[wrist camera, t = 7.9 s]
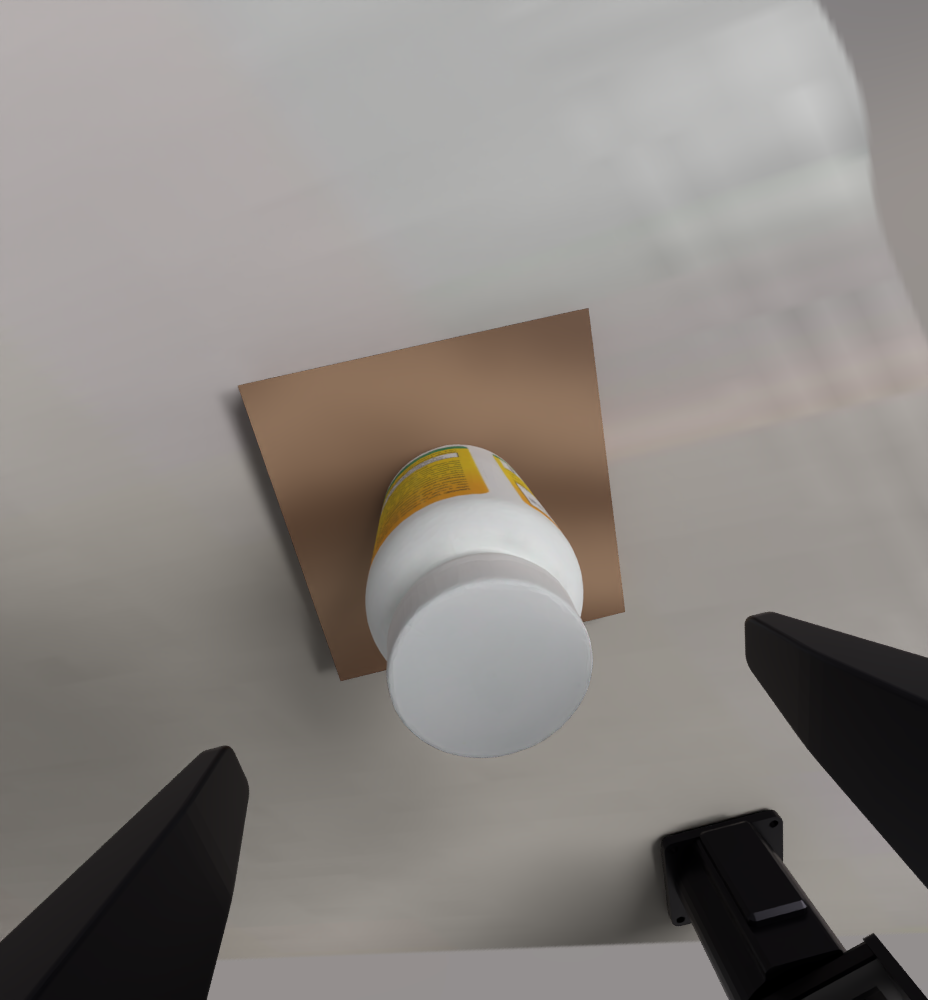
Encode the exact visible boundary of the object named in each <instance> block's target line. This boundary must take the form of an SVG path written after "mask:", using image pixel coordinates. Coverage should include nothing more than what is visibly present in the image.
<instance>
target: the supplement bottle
mask: <svg viewBox="0 0 928 1000" xmlns="http://www.w3.org/2000/svg"><path fill="white" fill-rule="evenodd" d="M365 605H366V614H367V621H368V625H369V628H370V631H371V634H372V637H373V639H374V641H375V643H376V645H377V647H378V649H379V651H380V652H381V654H382V655H383V657H384V658H385V659H386V661H387V671H386V676H387V683H388V689H389V694H390V697H391V700H392V703H393V706H394V708H395V711H396V712H397V714H398V716H399V717H400V719H401V720H402V722H403V723H404V724H405V725H406V726H407V728H408V729H409V730H410V731H411V732H412V733H414V734H415V735H416V736H417V737H418V738H420V739H421V740H422V741H424V742H425V743H427V744H429V745H431V746H433V747H434V748H436V749H439V750H441V751H444V752H446V753H450V754H453V755H458V756H464V757H473V758H489V757H499V756H504V755H509V754H512V753H515V752H518V751H521V750H524V749H527V748H530V747H532V746H534V745H536V744H538V743H540V742H542V741H544V740H545V739H547V738H548V737H549V736H551V735H552V734H553V733H555V732H556V731H557V730H559V729H560V728H561V727H562V726H563V725H564V724H565V722H567V721H568V720H569V719H570V717H571V716H572V715H573V713H574V712H575V711H576V709H577V708H578V706H579V705H580V703H581V701H582V699H583V698H584V696H585V694H586V692H587V689H588V686H589V683H590V679H591V673H592V667H593V655H592V648H591V642H590V638H589V635H588V632H587V630H586V627H585V625H584V623H583V621H582V619H581V618H580V617H581V612H582V606H583V582H582V574H581V570H580V566H579V564H578V561H577V558H576V556H575V553H574V551H573V549H572V547H571V545H570V543H569V542H568V540H567V539H566V537H565V536H564V535H563V533H562V532H561V530H560V529H559V528H558V526H557V525H556V523H555V522H554V521H553V519H552V518H551V517H550V516H549V514H548V513H547V512H546V510H545V509H544V508H543V507H542V505H541V504H540V503H539V501H538V500H537V499H536V497H535V496H534V495H533V494H532V492H531V491H530V489H529V488H528V487H527V485H526V484H525V483H524V482H523V480H522V479H521V478H520V477H519V475H518V474H517V473H516V472H515V471H514V470H513V468H512V467H511V466H510V465H509V464H508V463H507V462H505V461H504V460H503V459H502V458H500V457H499V456H497V455H496V454H494V453H492V452H490V451H488V450H485V449H482V448H479V447H475V446H471V445H459V444H454V445H445V446H441V447H438V448H435V449H432V450H430V451H427V452H425V453H423V454H421V455H419V456H417V457H416V458H414V459H413V460H411V461H410V462H409V463H407V464H406V465H405V466H404V467H403V468H402V469H401V470H400V471H399V472H398V473H397V475H396V476H395V477H394V479H393V481H392V482H391V484H390V486H389V488H388V490H387V493H386V496H385V499H384V503H383V507H382V512H381V516H380V520H379V526H378V531H377V536H376V541H375V546H374V551H373V556H372V561H371V565H370V570H369V574H368V579H367V585H366V595H365Z"/></svg>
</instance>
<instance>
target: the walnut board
mask: <svg viewBox="0 0 928 1000" xmlns="http://www.w3.org/2000/svg"><path fill="white" fill-rule="evenodd" d="M238 387H239V390H240V393H241V396H242V399H243V402H244V405H245V408H246V410H247V413H248V416H249V419H250V422H251V425H252V428H253V431H254V433H255V436H256V439H257V442H258V445H259V448H260V451H261V454H262V456H263V459H264V462H265V465H266V468H267V471H268V474H269V477H270V479H271V482H272V485H273V488H274V491H275V494H276V497H277V500H278V502H279V505H280V508H281V511H282V514H283V517H284V520H285V523H286V525H287V528H288V531H289V534H290V537H291V540H292V543H293V545H294V548H295V551H296V554H297V557H298V560H299V563H300V566H301V568H302V571H303V574H304V577H305V580H306V583H307V586H308V589H309V591H310V594H311V597H312V600H313V603H314V606H315V609H316V612H317V614H318V617H319V620H320V623H321V626H322V629H323V632H324V635H325V637H326V640H327V643H328V646H329V649H330V652H331V655H332V658H333V660H334V663H335V666H336V669H337V672H338V675H339V678H340V681H343V680H347V679H351V678H355V677H359V676H363V675H368V674H372V673H376V672H380V671H384V670H387V661H386V659H385V658H384V657H383V655H382V654H381V652H380V651H379V649H378V647H377V645H376V643H375V641H374V639H373V637H372V634H371V631H370V628H369V625H368V621H367V614H366V605H365V595H366V585H367V579H368V574H369V570H370V565H371V561H372V556H373V551H374V546H375V541H376V536H377V531H378V526H379V520H380V516H381V512H382V507H383V503H384V499H385V496H386V493H387V490H388V488H389V486H390V484H391V482H392V481H393V479H394V477H395V476H396V475H397V473H398V472H399V471H400V470H401V469H402V468H403V467H404V466H405V465H406V464H407V463H409V462H410V461H411V460H413V459H414V458H416V457H417V456H419V455H421V454H423V453H425V452H427V451H430V450H432V449H435V448H438V447H441V446H445V445H454V444H459V445H471V446H475V447H479V448H482V449H485V450H488V451H490V452H492V453H494V454H496V455H497V456H499V457H500V458H502V459H503V460H504V461H505V462H507V463H508V464H509V465H510V466H511V467H512V468H513V470H514V471H515V472H516V473H517V474H518V475H519V477H520V478H521V479H522V480H523V482H524V483H525V484H526V485H527V487H528V488H529V489H530V491H531V492H532V494H533V495H534V496H535V497H536V499H537V500H538V501H539V503H540V504H541V505H542V507H543V508H544V509H545V510H546V512H547V513H548V514H549V516H550V517H551V518H552V519H553V521H554V522H555V523H556V525H557V526H558V528H559V529H560V530H561V532H562V533H563V535H564V536H565V537H566V539H567V540H568V542H569V543H570V545H571V547H572V549H573V551H574V553H575V556H576V558H577V561H578V564H579V566H580V570H581V574H582V582H583V606H582V612H581V617H580V618H581V619H582V621H583V622H585V621H589V620H593V619H598V618H602V617H606V616H610V615H614V614H618V613H622V612H625V607H624V599H623V590H622V582H621V574H620V566H619V557H618V549H617V541H616V532H615V524H614V516H613V508H612V499H611V491H610V483H609V474H608V466H607V458H606V450H605V441H604V433H603V425H602V416H601V408H600V400H599V392H598V383H597V375H596V367H595V358H594V350H593V342H592V334H591V325H590V317H589V309H588V308H587V309H582V310H577V311H572V312H568V313H563V314H559V315H554V316H550V317H545V318H541V319H536V320H532V321H527V322H522V323H518V324H513V325H509V326H504V327H500V328H495V329H491V330H486V331H482V332H477V333H473V334H468V335H464V336H459V337H455V338H450V339H446V340H441V341H437V342H432V343H428V344H423V345H419V346H414V347H410V348H405V349H401V350H396V351H392V352H387V353H382V354H378V355H373V356H369V357H364V358H360V359H355V360H351V361H346V362H342V363H337V364H333V365H328V366H324V367H319V368H315V369H310V370H306V371H301V372H297V373H292V374H288V375H283V376H279V377H274V378H270V379H265V380H261V381H256V382H252V383H247V384H243V385H239V386H238Z"/></svg>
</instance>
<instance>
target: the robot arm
mask: <svg viewBox="0 0 928 1000" xmlns="http://www.w3.org/2000/svg"><path fill="white" fill-rule="evenodd" d="M745 655H746V660H747V663H748V666H749V668H750V670H751V671H752V673H753V674H754V675H755V677H756V678H757V680H758V681H759V682H760V684H761V685H762V687H763V688H764V690H765V691H766V692H767V694H768V695H769V697H770V698H771V699H772V701H773V702H774V704H775V705H776V706H777V708H778V709H779V711H780V712H781V713H782V715H783V716H784V718H785V719H786V720H787V722H788V723H789V725H790V726H791V727H792V729H793V730H794V732H795V733H796V734H797V736H798V737H799V738H800V740H801V741H802V742H803V744H804V745H805V746H806V748H807V749H808V750H809V752H810V753H811V754H812V755H813V756H814V758H815V759H816V760H817V761H818V762H819V764H820V765H821V766H822V767H823V768H824V769H825V771H826V772H827V773H828V774H829V775H830V776H831V777H832V779H833V780H834V781H835V782H836V783H837V784H838V786H839V787H840V788H841V789H842V790H843V791H844V793H845V794H846V795H847V796H848V797H849V798H850V799H851V801H852V802H853V803H854V804H855V805H856V806H857V808H858V809H859V810H860V811H861V812H862V813H863V815H864V816H865V817H866V818H867V819H868V820H869V821H870V823H871V824H872V825H873V826H874V827H875V828H876V830H877V831H878V832H879V833H880V834H881V835H882V837H883V838H884V839H885V840H886V841H887V842H888V844H889V845H890V846H891V847H892V848H893V849H894V850H895V852H896V853H897V854H898V855H899V856H900V857H901V859H902V860H903V861H904V862H905V863H906V864H907V866H908V867H909V868H910V869H911V870H912V871H913V872H914V874H915V875H916V876H917V877H918V878H919V879H920V881H921V882H922V883H923V884H924V885H925V886H926V888H927V889H928V658H927V657H923V656H920V655H917V654H913V653H910V652H906V651H903V650H900V649H896V648H893V647H890V646H886V645H883V644H879V643H876V642H873V641H869V640H866V639H863V638H859V637H856V636H852V635H849V634H846V633H842V632H839V631H835V630H832V629H829V628H825V627H822V626H819V625H815V624H812V623H808V622H805V621H802V620H798V619H795V618H792V617H788V616H785V615H781V614H778V613H775V612H764V613H760V614H756V615H752V616H749V617H748V618H747V619H746V621H745ZM248 799H249V786H248V781H247V779H246V776H245V774H244V772H243V770H242V768H241V766H240V763H239V761H238V759H237V757H236V755H235V753H234V751H233V749H232V748H231V747H229V746H221V747H217V748H213V749H209V750H205V751H203V752H202V753H200V754H199V755H198V756H197V757H196V758H195V759H194V760H193V761H192V762H191V763H190V764H189V765H188V766H187V767H185V768H184V769H183V770H182V771H181V772H180V773H179V774H178V775H177V776H176V777H175V778H174V779H173V780H172V781H171V782H170V783H169V784H167V785H166V786H165V787H164V788H163V789H162V790H161V791H160V792H159V793H158V794H157V795H156V796H155V797H154V798H153V799H152V800H150V801H149V802H148V803H147V804H146V805H145V806H144V807H143V808H142V809H141V810H140V811H139V812H138V813H137V814H136V815H135V816H134V817H132V818H131V819H130V820H129V821H128V822H127V823H126V824H125V825H124V826H123V827H122V828H121V829H120V830H119V831H118V832H117V833H115V834H114V835H113V836H112V837H111V838H110V839H109V840H108V841H107V842H106V843H105V844H104V845H103V846H102V847H101V848H100V849H99V850H97V851H96V852H95V853H94V854H93V855H92V856H91V857H90V858H89V859H88V860H87V861H86V862H85V863H84V864H83V865H82V866H80V867H79V868H78V869H77V870H76V871H75V872H74V873H73V874H72V875H71V876H70V877H69V878H68V879H67V880H66V881H65V882H64V883H62V884H61V885H60V886H59V887H58V888H57V889H56V890H55V891H54V892H53V893H52V894H51V895H50V896H49V897H48V898H47V899H45V900H44V901H43V902H42V903H41V904H40V905H39V906H38V907H37V908H36V909H35V910H34V911H33V912H32V913H31V914H30V915H29V916H27V917H26V918H25V919H24V920H23V921H22V922H21V923H20V924H19V925H18V926H17V927H16V928H15V929H14V930H13V931H12V932H11V933H9V934H8V935H7V936H6V937H5V938H4V939H3V940H2V941H1V942H0V1000H207V996H208V992H209V988H210V984H211V980H212V976H213V973H214V969H215V965H216V961H217V957H218V953H219V949H220V945H221V941H222V938H223V934H224V930H225V926H226V922H227V918H228V914H229V910H230V905H231V901H232V896H233V891H234V886H235V880H236V874H237V868H238V862H239V855H240V849H241V843H242V836H243V830H244V824H245V817H246V811H247V805H248ZM661 852H662V861H663V870H664V879H665V887H666V896H667V905H668V914H669V916H670V919H671V921H672V923H673V925H675V926H682V925H686V924H690V923H692V925H693V927H694V929H695V931H696V933H697V935H698V937H699V939H700V941H701V943H702V945H703V947H704V950H705V952H706V954H707V956H708V958H709V960H710V962H711V964H712V966H713V968H714V970H715V972H716V974H717V976H718V978H719V980H720V982H721V985H722V987H723V989H724V991H725V993H726V995H727V997H728V999H729V1000H928V999H927V998H926V996H925V995H924V994H923V993H922V992H921V990H920V989H919V988H918V987H917V985H916V984H915V983H914V982H913V980H912V979H911V978H910V977H909V976H908V974H907V973H906V972H905V971H904V970H903V968H902V967H901V966H900V965H899V963H898V962H897V961H896V960H895V959H894V957H893V956H892V955H891V954H890V952H889V951H888V950H887V949H886V947H885V946H884V945H883V944H882V943H881V942H880V940H879V939H878V938H877V936H876V935H875V934H874V933H872V934H871V935H869V936H867V937H865V938H863V940H864V942H862V943H861V944H859V945H857V946H855V947H853V948H852V949H850V950H848V951H846V949H845V948H844V947H843V945H842V944H841V943H840V941H839V940H838V939H837V937H836V936H835V934H834V933H833V931H832V930H831V929H830V927H829V926H828V924H827V923H826V922H825V920H824V919H823V917H822V916H821V915H820V913H819V912H818V910H817V909H816V908H815V906H814V905H813V903H812V902H811V901H810V899H809V898H808V897H807V895H806V894H805V892H804V891H803V890H802V888H801V887H800V885H799V884H798V883H797V881H796V880H795V878H794V877H793V876H792V874H791V873H790V871H789V870H788V869H787V867H786V866H785V864H784V863H783V821H782V818H781V817H780V816H779V815H778V813H777V812H776V811H774V810H768V811H764V812H760V813H756V814H752V815H748V816H745V817H741V818H737V819H733V820H729V821H725V822H722V823H718V824H714V825H710V826H706V827H702V828H698V829H695V830H691V831H687V832H683V833H679V834H675V835H672V836H668V837H666V838H664V839H663V840H662V842H661Z"/></svg>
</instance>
